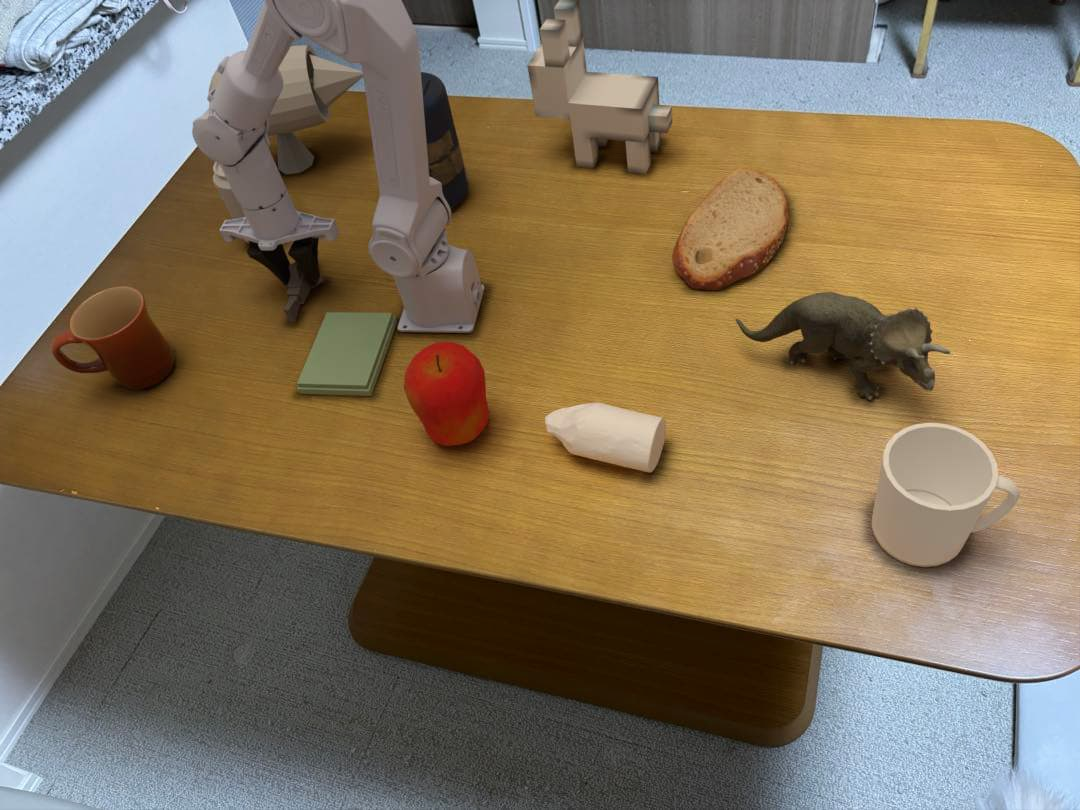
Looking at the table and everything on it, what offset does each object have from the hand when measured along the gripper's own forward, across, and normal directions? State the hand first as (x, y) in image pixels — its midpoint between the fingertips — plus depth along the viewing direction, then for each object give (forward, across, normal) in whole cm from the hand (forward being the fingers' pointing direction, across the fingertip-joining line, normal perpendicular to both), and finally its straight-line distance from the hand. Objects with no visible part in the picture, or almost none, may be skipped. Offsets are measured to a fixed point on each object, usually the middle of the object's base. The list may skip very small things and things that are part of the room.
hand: (302, 280), depth 115 cm
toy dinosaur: (+2, +66, -12) cm, 67 cm away
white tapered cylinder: (+2, +42, -24) cm, 48 cm away
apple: (+2, +26, -22) cm, 33 cm away
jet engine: (+2, -8, +28) cm, 29 cm away
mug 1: (+2, -18, -16) cm, 23 cm away
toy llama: (+2, +37, +28) cm, 46 cm away
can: (+2, -10, +12) cm, 15 cm away
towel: (+2, +10, -12) cm, 15 cm away
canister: (+2, +14, +18) cm, 23 cm away
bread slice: (+2, +54, +10) cm, 55 cm away
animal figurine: (+2, 0, 0) cm, 2 cm away
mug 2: (+2, +72, -32) cm, 79 cm away
